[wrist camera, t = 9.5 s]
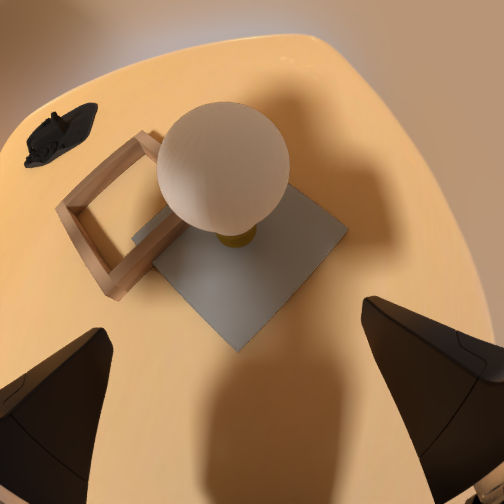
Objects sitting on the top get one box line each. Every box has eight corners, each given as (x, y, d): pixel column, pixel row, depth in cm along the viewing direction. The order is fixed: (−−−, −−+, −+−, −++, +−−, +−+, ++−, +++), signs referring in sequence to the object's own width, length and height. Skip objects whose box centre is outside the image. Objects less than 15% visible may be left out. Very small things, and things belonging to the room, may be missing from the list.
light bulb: (196, 201, 19) (153, 88, 10) (277, 195, 19) (283, 74, 10) (192, 279, 17) (121, 189, 8) (285, 274, 17) (308, 172, 8)
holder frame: (222, 201, 20) (219, 187, 18) (118, 301, 17) (105, 295, 15) (148, 143, 23) (142, 130, 21) (65, 218, 20) (54, 208, 18)
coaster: (346, 231, 18) (348, 228, 18) (238, 352, 16) (237, 351, 15) (237, 152, 22) (236, 148, 21) (133, 241, 19) (131, 238, 18)
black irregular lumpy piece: (100, 99, 28) (87, 73, 24) (97, 138, 25) (79, 108, 20) (35, 138, 27) (19, 117, 22) (23, 184, 23) (1, 162, 19)
